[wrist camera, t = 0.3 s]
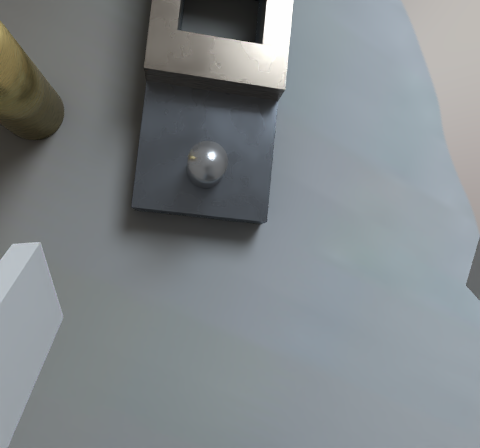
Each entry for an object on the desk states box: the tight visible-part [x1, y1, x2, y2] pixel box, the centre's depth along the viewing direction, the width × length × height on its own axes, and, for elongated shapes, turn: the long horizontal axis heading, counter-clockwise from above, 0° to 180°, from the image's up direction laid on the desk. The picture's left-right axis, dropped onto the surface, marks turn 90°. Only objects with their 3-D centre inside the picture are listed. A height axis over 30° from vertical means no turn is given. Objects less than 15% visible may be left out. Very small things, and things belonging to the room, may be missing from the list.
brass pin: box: [0, 21, 64, 140], centre depth 23 cm, size 4×4×10 cm
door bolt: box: [131, 0, 293, 224], centre depth 27 cm, size 26×9×7 cm, turn 175°
